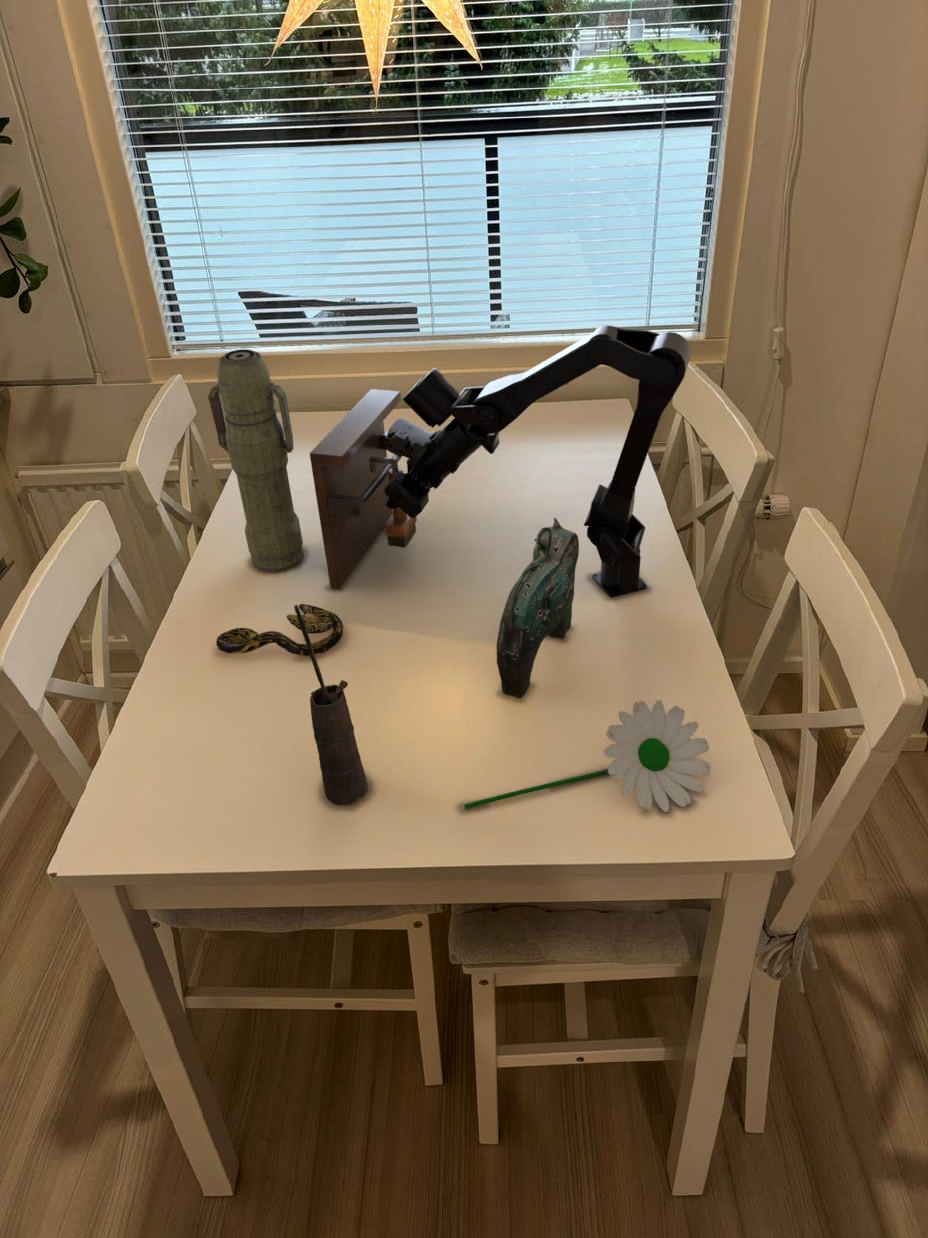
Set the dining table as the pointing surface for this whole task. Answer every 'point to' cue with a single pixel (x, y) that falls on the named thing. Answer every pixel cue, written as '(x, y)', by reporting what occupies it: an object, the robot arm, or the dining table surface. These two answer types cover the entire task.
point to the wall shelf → (353, 483)
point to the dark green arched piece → (537, 607)
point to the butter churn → (335, 737)
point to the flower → (646, 758)
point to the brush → (396, 511)
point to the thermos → (258, 457)
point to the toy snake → (314, 621)
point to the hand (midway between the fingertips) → (390, 502)
